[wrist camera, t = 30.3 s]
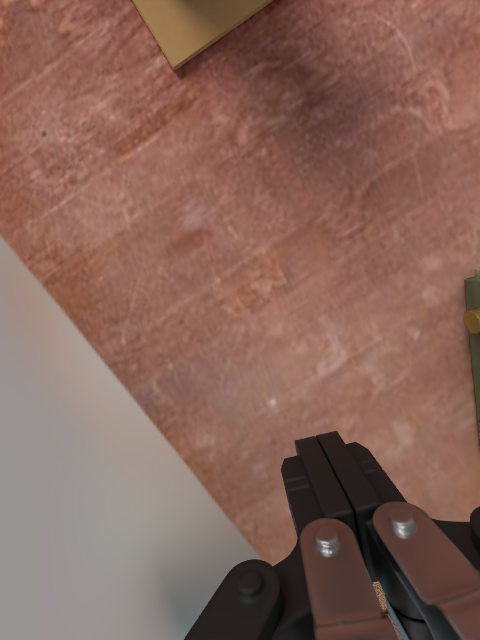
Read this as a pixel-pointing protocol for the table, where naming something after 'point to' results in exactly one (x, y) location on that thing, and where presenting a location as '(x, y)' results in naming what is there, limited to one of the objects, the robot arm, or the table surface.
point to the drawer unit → (478, 272)
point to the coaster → (193, 23)
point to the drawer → (474, 333)
